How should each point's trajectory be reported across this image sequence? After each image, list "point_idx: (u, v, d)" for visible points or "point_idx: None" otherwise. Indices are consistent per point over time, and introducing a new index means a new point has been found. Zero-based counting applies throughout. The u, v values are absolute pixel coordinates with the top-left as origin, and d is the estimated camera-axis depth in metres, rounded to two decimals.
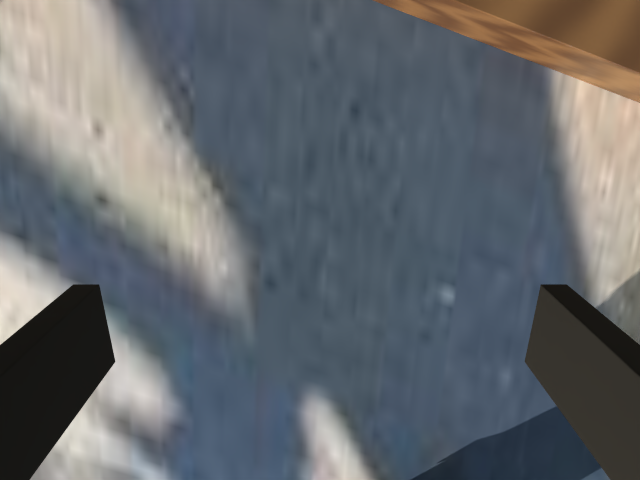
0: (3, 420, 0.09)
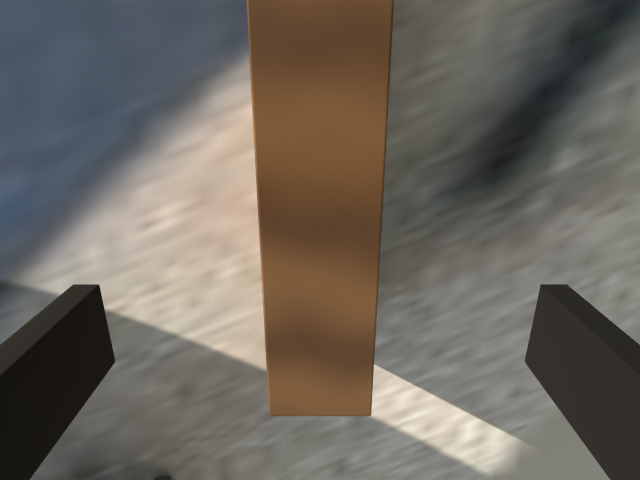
0: (3, 420, 0.09)
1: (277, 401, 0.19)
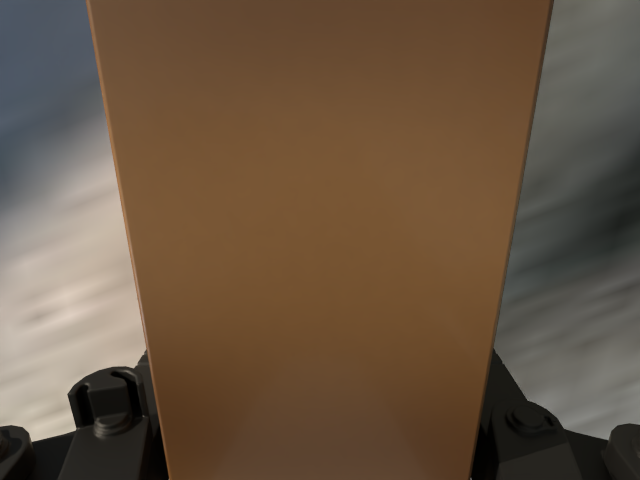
0: None
1: None
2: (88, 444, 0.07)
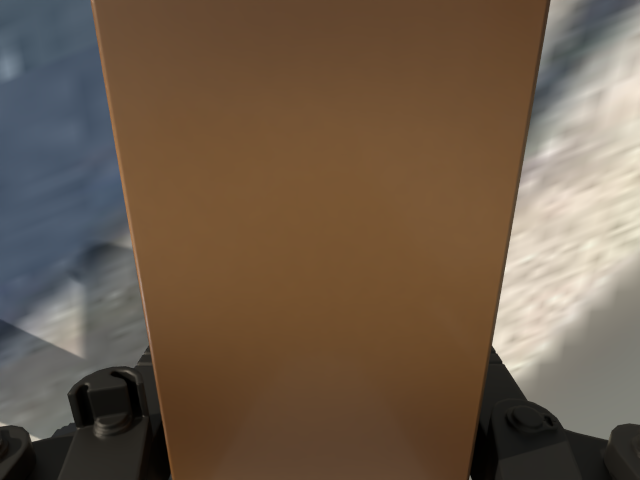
0: None
1: None
2: (88, 444, 0.07)
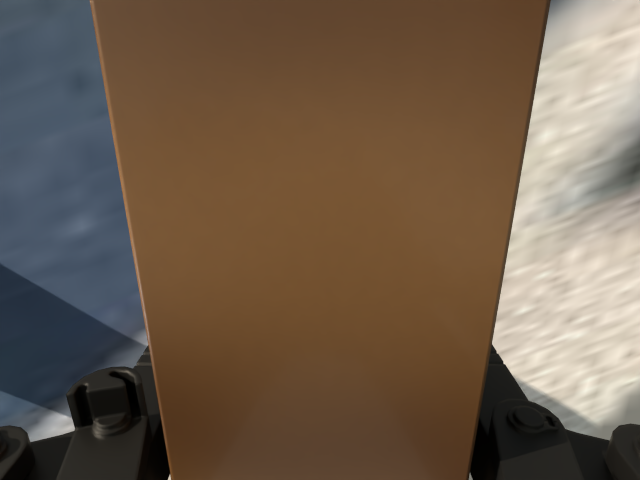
0: None
1: None
2: (87, 444, 0.07)
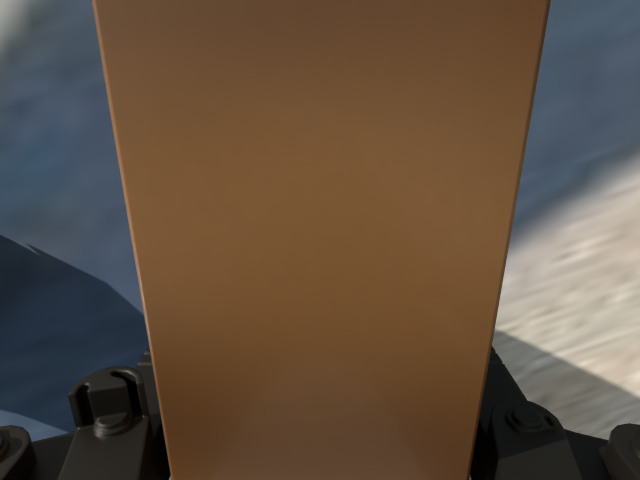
0: None
1: None
2: (88, 444, 0.07)
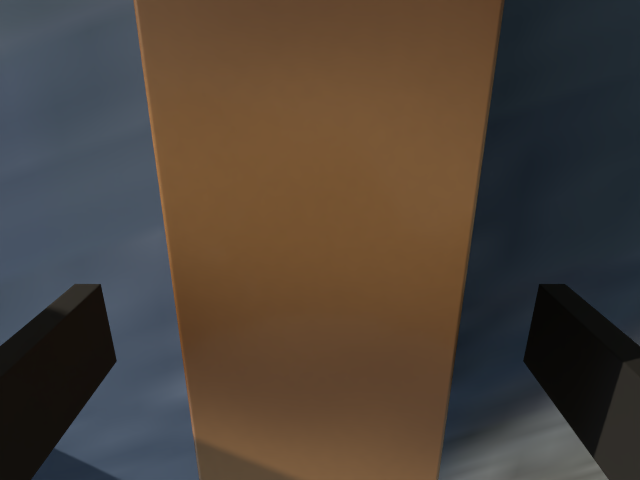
0: (6, 419, 0.09)
1: None
2: None
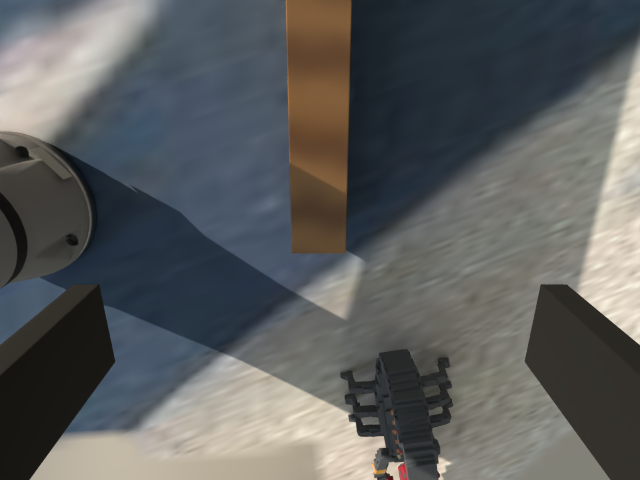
0: (3, 420, 0.09)
1: (296, 244, 0.37)
2: None
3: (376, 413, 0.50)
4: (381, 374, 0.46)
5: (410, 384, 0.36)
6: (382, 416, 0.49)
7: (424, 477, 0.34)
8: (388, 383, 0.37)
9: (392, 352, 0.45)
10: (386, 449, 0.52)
